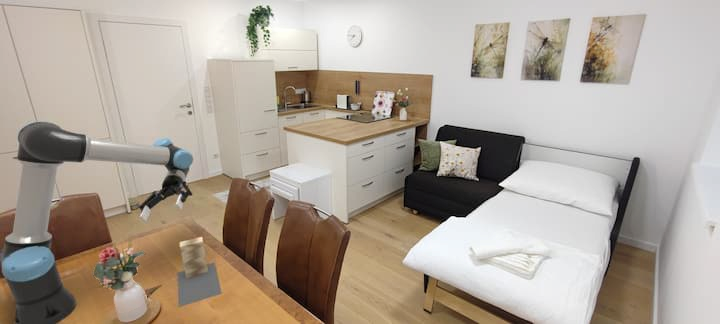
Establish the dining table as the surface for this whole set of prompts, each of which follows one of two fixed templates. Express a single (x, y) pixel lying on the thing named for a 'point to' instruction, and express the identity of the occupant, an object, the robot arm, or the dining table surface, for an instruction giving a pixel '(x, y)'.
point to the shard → (151, 290)
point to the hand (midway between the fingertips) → (160, 213)
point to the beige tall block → (193, 257)
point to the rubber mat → (198, 286)
